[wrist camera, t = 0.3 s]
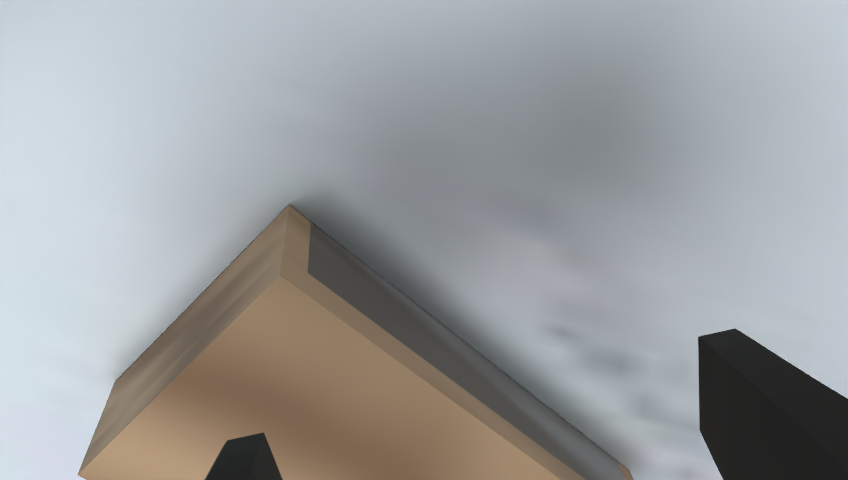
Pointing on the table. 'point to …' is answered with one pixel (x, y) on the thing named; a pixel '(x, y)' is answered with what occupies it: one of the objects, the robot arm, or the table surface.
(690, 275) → the table surface
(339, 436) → the low shelf
